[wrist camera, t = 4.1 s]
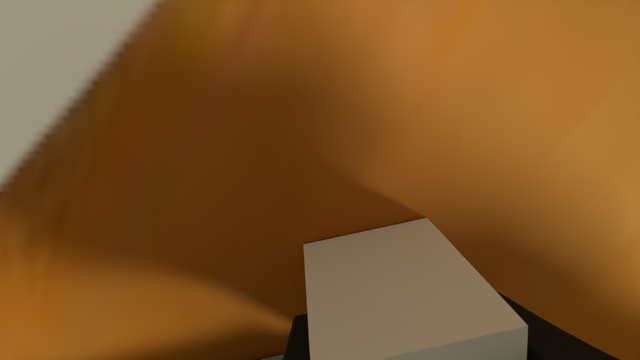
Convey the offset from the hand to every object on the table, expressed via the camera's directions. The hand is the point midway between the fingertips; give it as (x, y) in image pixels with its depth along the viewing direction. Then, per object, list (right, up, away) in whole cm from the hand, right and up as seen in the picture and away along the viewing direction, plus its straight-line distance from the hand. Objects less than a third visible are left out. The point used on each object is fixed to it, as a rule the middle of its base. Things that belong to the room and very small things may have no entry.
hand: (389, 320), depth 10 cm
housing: (0, +1, +2) cm, 2 cm away
